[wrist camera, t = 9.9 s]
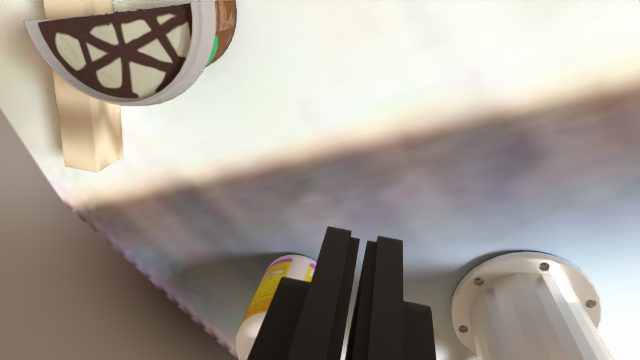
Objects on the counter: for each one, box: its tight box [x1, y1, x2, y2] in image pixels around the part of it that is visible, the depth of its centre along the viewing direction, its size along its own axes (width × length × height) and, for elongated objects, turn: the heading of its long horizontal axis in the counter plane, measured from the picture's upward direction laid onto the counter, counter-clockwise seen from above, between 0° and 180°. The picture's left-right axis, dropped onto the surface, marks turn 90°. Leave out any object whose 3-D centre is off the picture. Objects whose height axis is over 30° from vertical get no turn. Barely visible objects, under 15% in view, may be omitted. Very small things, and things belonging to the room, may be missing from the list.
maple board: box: [43, 0, 123, 172], centre depth 35 cm, size 22×3×4 cm, turn 173°
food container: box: [24, 0, 237, 106], centre depth 32 cm, size 12×6×10 cm, turn 96°
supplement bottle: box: [235, 255, 317, 360], centre depth 38 cm, size 7×7×13 cm
